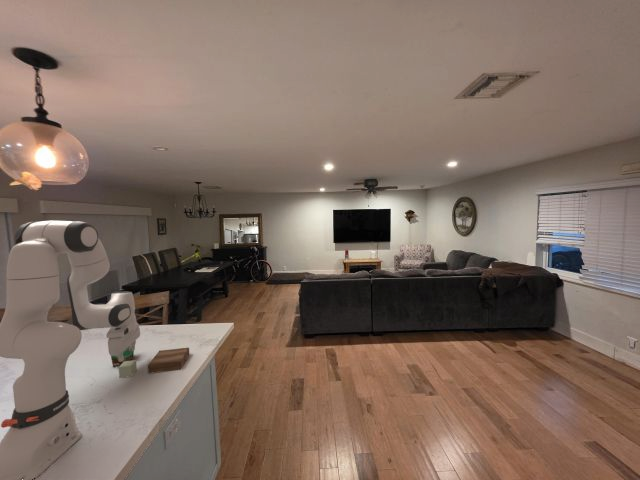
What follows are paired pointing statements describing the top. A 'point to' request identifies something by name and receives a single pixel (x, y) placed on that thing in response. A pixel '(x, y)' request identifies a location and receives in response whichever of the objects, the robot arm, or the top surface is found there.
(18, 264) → the robot arm
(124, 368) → the sage block
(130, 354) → the food container
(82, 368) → the top surface
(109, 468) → the top surface
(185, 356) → the walnut base
